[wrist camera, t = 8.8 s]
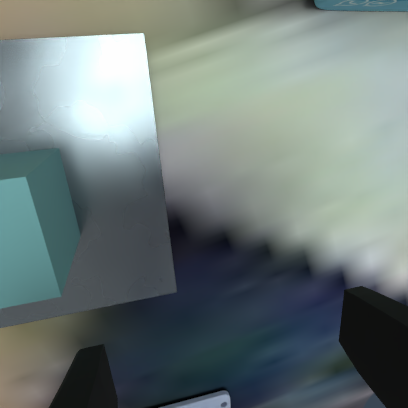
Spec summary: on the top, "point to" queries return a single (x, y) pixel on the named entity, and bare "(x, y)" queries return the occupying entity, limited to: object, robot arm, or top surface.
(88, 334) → the top surface
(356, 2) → the data package
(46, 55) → the base block
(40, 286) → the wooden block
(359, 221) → the top surface
